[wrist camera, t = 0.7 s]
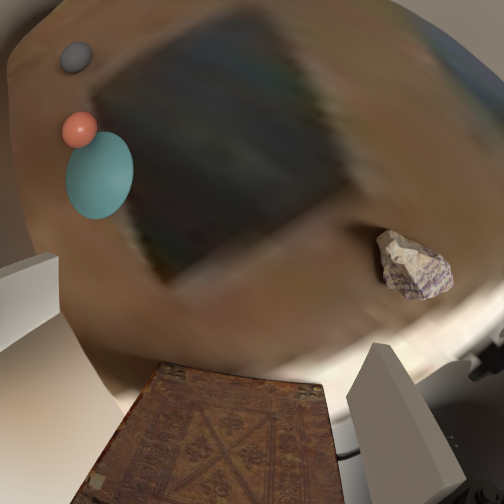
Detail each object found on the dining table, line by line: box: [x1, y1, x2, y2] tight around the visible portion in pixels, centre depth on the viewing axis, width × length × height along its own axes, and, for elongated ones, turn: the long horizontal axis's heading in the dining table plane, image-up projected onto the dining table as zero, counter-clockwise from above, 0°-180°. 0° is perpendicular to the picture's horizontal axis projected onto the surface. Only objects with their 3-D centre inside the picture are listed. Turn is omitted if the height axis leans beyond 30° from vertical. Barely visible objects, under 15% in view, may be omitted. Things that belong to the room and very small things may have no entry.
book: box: [70, 361, 345, 504], centre depth 26 cm, size 25×9×30 cm, turn 84°
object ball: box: [62, 111, 97, 148], centre depth 32 cm, size 6×6×6 cm
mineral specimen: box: [376, 230, 454, 301], centre depth 32 cm, size 13×7×6 cm, turn 71°
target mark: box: [66, 132, 133, 219], centre depth 36 cm, size 13×13×1 cm
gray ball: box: [60, 42, 92, 73], centre depth 29 cm, size 6×6×6 cm
